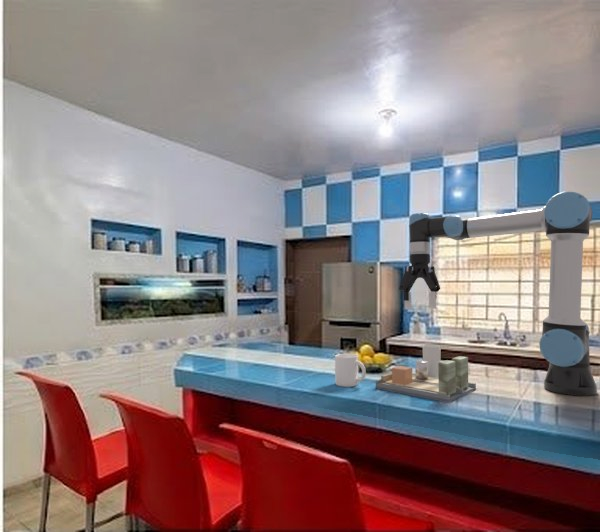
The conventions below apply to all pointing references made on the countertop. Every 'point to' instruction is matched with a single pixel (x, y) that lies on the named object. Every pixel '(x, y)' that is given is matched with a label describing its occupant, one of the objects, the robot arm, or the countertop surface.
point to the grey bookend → (432, 358)
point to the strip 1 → (445, 385)
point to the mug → (348, 370)
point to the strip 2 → (460, 372)
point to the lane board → (426, 394)
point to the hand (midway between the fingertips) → (420, 308)
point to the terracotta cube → (402, 375)
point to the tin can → (421, 370)
